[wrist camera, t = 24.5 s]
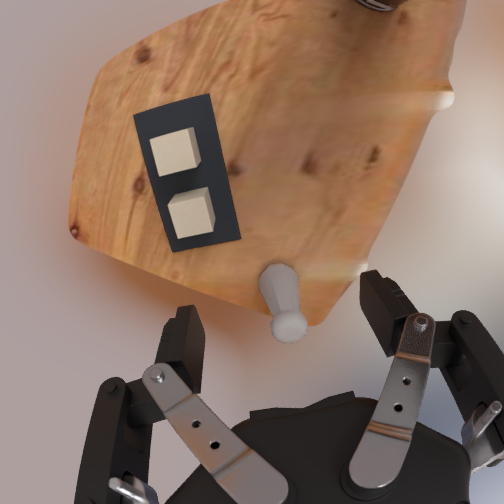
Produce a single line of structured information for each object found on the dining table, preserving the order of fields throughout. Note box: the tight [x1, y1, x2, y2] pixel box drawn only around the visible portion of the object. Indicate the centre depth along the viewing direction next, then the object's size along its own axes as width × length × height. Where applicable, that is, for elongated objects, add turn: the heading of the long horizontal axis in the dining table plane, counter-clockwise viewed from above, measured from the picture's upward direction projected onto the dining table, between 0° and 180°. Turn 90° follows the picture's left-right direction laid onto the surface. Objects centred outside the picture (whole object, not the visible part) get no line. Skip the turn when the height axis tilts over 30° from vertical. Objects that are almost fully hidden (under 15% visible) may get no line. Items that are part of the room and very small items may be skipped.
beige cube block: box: [168, 187, 215, 239], centre depth 35 cm, size 4×5×4 cm
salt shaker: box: [258, 263, 307, 343], centre depth 38 cm, size 6×6×13 cm
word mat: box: [133, 93, 241, 252], centre depth 36 cm, size 20×10×1 cm, turn 11°
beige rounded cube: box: [150, 127, 201, 177], centre depth 32 cm, size 4×5×4 cm
